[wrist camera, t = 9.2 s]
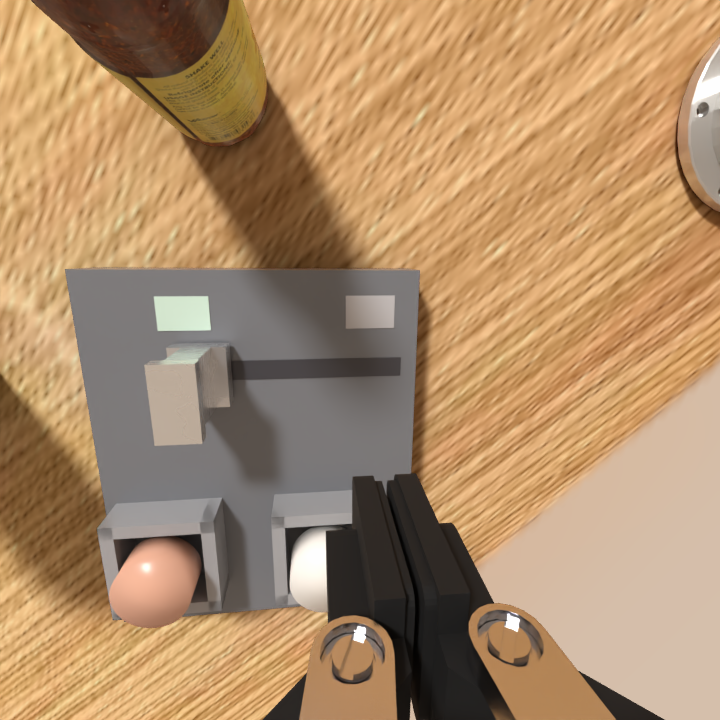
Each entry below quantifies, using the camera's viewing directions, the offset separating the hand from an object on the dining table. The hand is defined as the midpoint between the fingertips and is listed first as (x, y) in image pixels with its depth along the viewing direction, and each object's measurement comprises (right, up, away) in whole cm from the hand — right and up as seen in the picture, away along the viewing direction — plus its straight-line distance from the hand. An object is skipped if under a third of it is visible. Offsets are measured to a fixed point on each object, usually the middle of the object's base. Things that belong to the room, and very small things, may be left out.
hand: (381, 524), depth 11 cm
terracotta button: (-13, -8, +15) cm, 21 cm away
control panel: (-7, -1, +19) cm, 20 cm away
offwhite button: (-3, -8, +16) cm, 18 cm away
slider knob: (-10, +4, +14) cm, 17 cm away
